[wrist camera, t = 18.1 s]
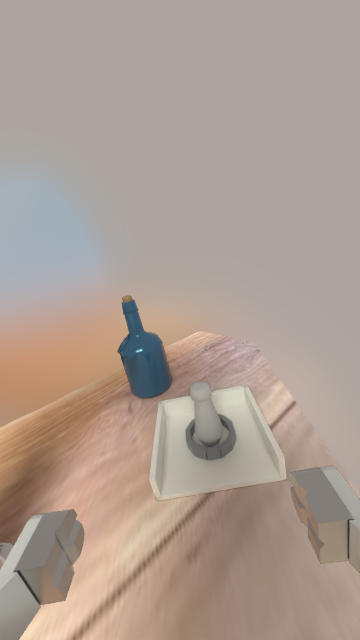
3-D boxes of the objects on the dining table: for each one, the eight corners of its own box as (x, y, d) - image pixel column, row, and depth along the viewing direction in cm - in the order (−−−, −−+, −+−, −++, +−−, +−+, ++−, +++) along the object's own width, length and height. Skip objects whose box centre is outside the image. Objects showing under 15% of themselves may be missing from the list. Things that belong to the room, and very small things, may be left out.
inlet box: (286, 479, 37) (284, 456, 36) (156, 501, 38) (149, 479, 37) (249, 401, 56) (247, 384, 55) (163, 417, 57) (158, 401, 56)
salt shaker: (214, 423, 50) (204, 373, 47) (230, 440, 45) (220, 385, 41) (192, 436, 48) (179, 385, 44) (206, 455, 43) (193, 399, 39)
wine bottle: (171, 371, 79) (150, 288, 70) (173, 394, 66) (148, 295, 57) (133, 381, 78) (107, 297, 70) (128, 405, 66) (95, 307, 57)
